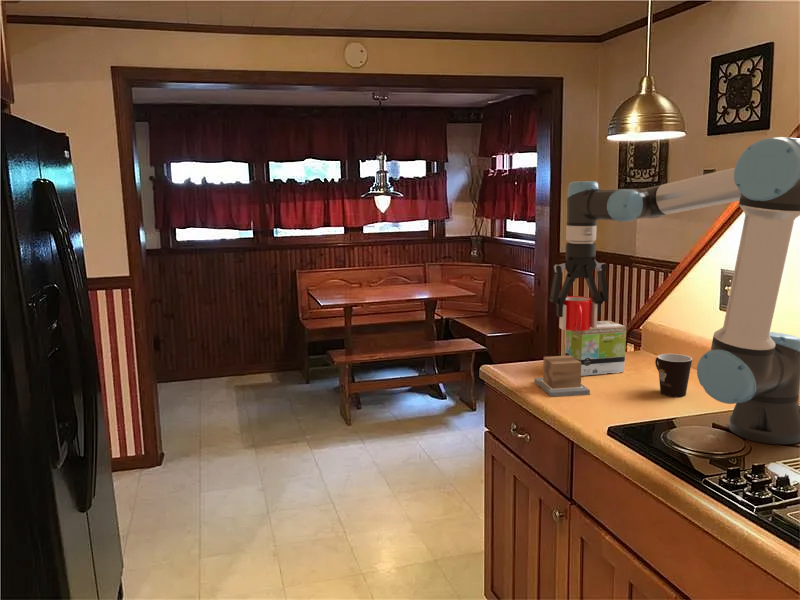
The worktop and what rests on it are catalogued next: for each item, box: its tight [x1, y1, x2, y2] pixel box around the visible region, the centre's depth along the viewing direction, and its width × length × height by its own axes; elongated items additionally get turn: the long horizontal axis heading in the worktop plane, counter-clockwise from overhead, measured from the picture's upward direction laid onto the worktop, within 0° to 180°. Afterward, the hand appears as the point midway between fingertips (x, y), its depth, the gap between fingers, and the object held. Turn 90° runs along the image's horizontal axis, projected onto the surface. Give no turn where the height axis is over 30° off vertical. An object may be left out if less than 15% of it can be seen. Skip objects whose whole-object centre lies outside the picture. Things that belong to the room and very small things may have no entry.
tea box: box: [564, 320, 627, 377], centre depth 202 cm, size 15×10×15 cm
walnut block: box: [542, 355, 582, 389], centre depth 186 cm, size 8×8×7 cm
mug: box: [564, 295, 592, 331], centre depth 174 cm, size 8×12×8 cm, turn 175°
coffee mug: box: [654, 353, 693, 398], centre depth 180 cm, size 12×9×10 cm
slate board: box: [534, 377, 591, 398], centre depth 186 cm, size 14×11×1 cm
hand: (577, 328), depth 175 cm, fingers closed on mug, 8 cm apart
